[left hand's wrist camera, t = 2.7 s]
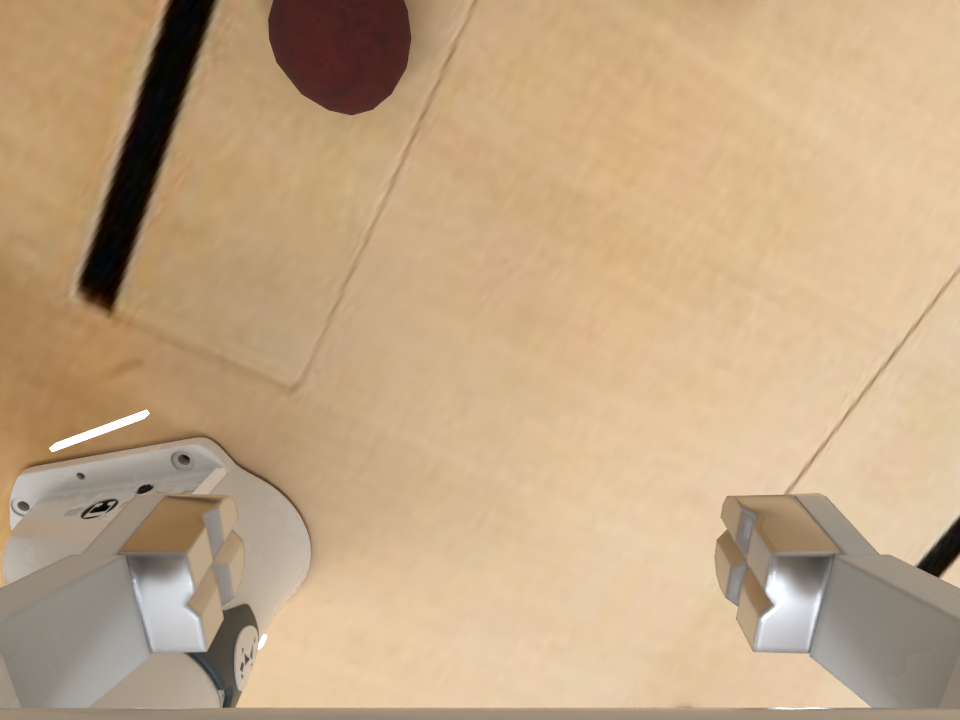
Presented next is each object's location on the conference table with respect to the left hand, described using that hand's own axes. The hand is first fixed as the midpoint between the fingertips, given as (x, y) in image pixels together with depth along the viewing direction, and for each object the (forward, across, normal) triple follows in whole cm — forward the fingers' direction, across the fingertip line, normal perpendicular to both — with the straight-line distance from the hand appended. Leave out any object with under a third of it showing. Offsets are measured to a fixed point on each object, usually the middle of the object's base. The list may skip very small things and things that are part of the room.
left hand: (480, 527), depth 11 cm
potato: (+32, +7, -10) cm, 34 cm away
